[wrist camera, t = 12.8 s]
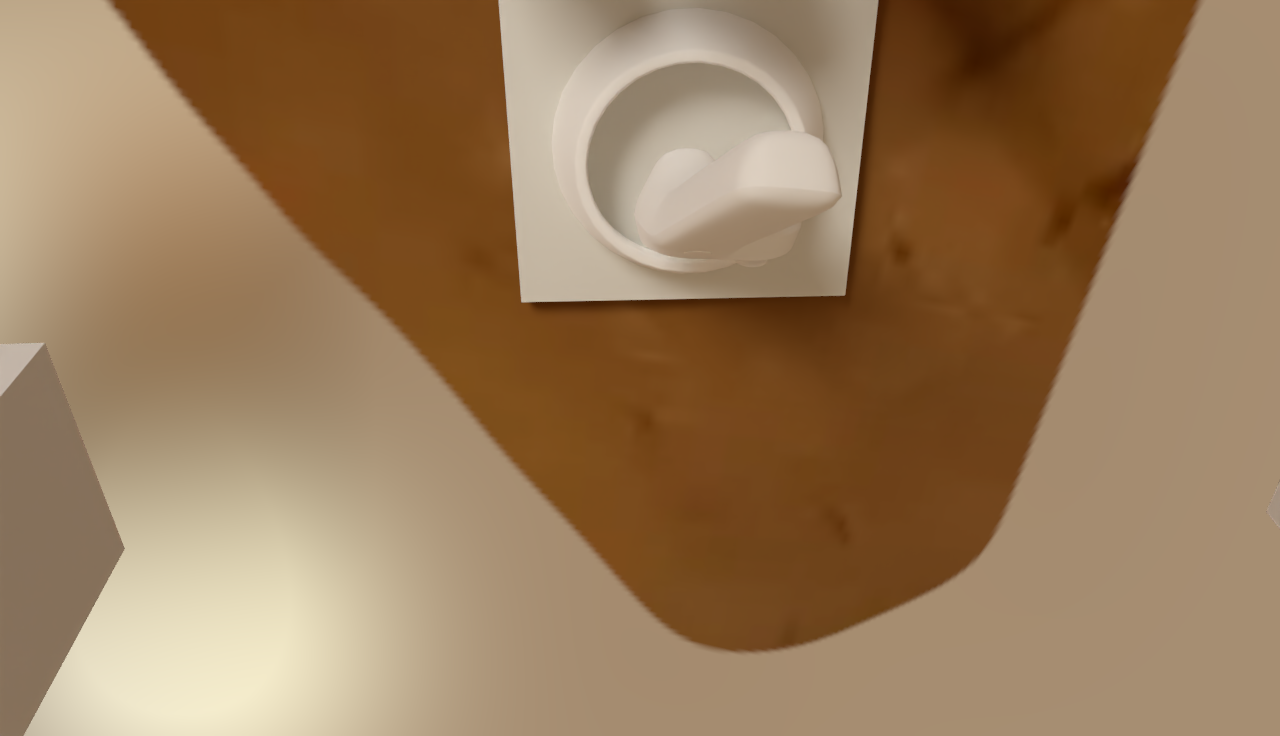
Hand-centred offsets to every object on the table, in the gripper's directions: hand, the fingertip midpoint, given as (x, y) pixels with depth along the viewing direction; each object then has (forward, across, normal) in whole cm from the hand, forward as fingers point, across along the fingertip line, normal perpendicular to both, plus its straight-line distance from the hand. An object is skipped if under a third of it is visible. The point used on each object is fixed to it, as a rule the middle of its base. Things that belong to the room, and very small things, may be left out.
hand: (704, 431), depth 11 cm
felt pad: (+20, +1, -4) cm, 20 cm away
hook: (+19, +1, -4) cm, 20 cm away
